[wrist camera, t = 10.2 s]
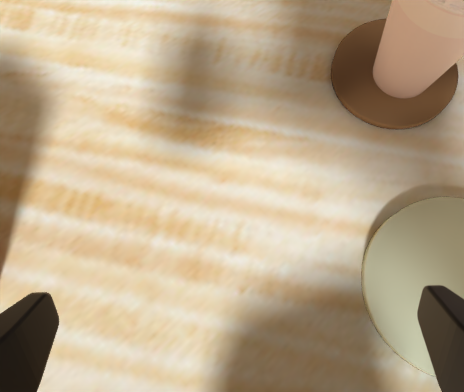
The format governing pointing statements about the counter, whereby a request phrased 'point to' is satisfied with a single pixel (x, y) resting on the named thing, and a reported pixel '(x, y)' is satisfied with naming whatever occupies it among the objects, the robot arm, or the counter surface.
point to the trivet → (371, 96)
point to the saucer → (412, 271)
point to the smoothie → (418, 45)
